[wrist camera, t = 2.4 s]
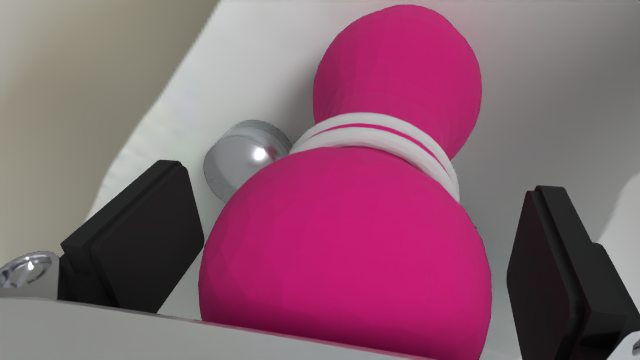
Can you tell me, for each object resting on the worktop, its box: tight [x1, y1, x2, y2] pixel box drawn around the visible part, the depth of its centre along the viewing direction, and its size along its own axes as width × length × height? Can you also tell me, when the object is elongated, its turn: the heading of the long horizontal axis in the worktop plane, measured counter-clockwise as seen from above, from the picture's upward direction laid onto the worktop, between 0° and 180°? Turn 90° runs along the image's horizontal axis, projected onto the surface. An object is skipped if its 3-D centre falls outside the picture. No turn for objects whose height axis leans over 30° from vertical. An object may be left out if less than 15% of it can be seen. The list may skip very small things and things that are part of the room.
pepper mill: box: [198, 5, 492, 360], centre depth 14 cm, size 7×7×20 cm
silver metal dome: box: [204, 120, 293, 204], centre depth 26 cm, size 5×5×3 cm
